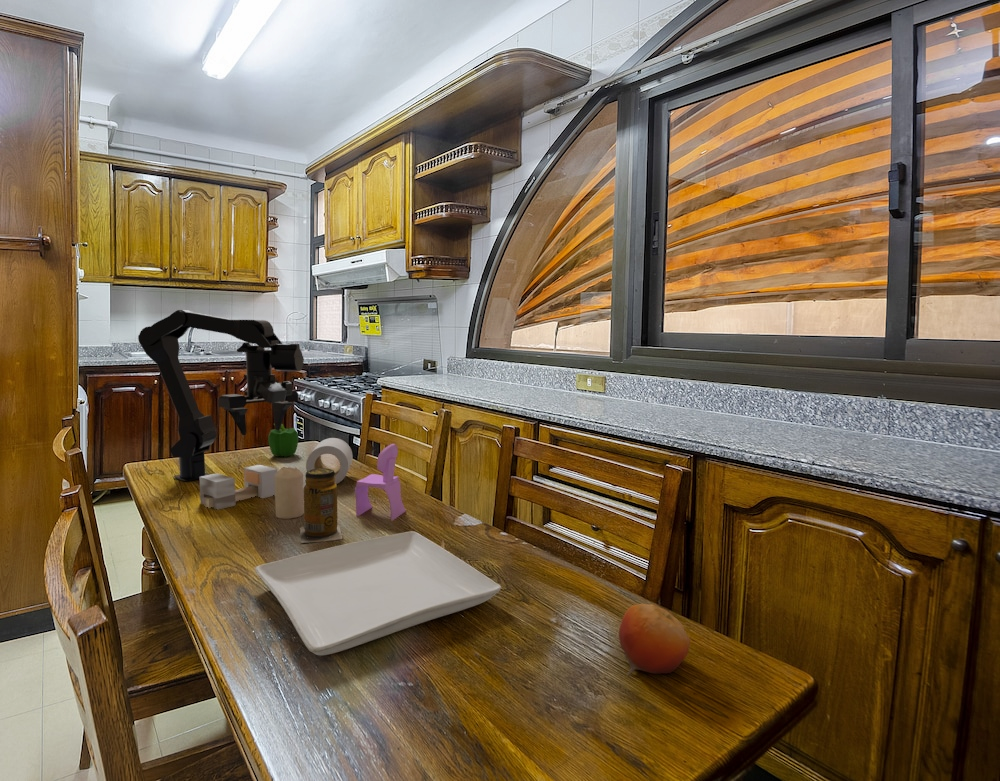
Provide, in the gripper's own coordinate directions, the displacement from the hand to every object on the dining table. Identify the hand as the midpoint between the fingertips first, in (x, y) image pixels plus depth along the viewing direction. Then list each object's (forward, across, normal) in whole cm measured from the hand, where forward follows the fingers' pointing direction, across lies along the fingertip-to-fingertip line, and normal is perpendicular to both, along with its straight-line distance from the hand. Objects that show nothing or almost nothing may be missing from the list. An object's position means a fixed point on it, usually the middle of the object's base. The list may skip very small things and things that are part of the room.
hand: (261, 432), depth 144 cm
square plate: (+13, -26, -70) cm, 76 cm away
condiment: (+12, -15, -43) cm, 47 cm away
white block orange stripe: (+12, -7, -11) cm, 18 cm away
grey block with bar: (+12, -11, -11) cm, 20 cm away
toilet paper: (+12, +10, -14) cm, 21 cm away
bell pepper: (+12, +19, +19) cm, 30 cm away
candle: (+12, -12, -29) cm, 34 cm away
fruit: (+12, -18, -109) cm, 111 cm away
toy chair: (+12, 0, -43) cm, 45 cm away
